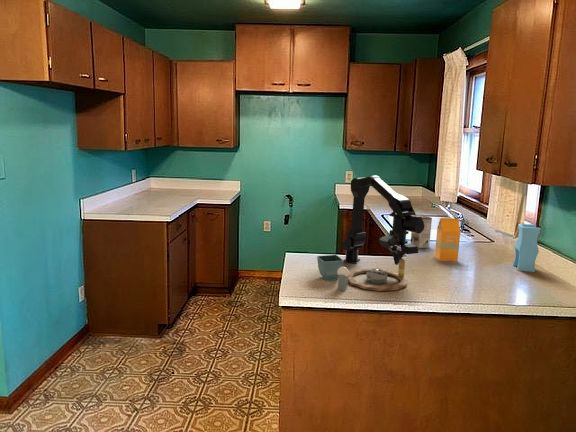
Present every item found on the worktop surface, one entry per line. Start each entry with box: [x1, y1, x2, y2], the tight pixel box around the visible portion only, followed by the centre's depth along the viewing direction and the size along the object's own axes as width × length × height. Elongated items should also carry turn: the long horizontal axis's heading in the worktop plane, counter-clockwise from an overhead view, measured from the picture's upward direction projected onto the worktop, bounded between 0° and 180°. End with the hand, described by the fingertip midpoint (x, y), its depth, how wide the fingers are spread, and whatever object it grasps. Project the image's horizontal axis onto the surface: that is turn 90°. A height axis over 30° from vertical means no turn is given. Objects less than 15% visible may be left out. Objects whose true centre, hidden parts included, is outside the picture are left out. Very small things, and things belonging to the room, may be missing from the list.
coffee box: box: [410, 214, 433, 249], centre depth 250 cm, size 9×6×16 cm
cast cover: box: [365, 267, 388, 286], centre depth 193 cm, size 8×8×5 cm
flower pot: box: [316, 254, 345, 282], centre depth 194 cm, size 9×9×9 cm
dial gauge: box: [337, 266, 350, 292], centre depth 182 cm, size 3×4×9 cm
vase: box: [512, 223, 542, 273], centre depth 212 cm, size 8×8×20 cm
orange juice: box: [434, 217, 461, 262], centre depth 226 cm, size 8×9×20 cm
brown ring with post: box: [348, 258, 408, 292], centre depth 192 cm, size 24×24×8 cm
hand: (396, 264), depth 197 cm, fingers closed
